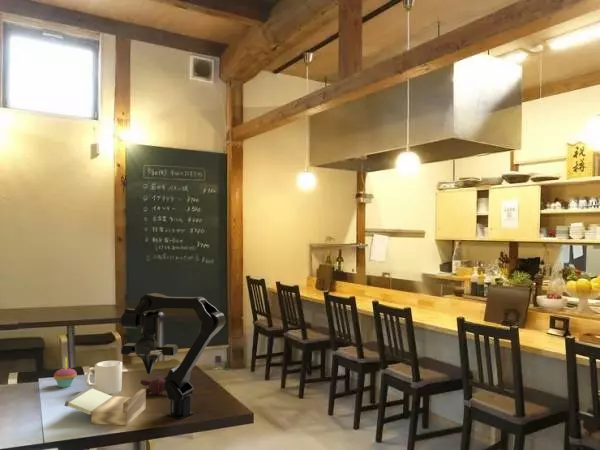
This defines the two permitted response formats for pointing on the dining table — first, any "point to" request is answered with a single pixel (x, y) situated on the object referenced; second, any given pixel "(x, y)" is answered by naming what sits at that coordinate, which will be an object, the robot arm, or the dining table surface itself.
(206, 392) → the dining table surface
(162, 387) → the icecream
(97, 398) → the panel
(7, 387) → the dining table surface
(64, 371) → the cupcake
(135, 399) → the cream and gold block
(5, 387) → the dining table surface
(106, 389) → the mug
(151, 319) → the robot arm
